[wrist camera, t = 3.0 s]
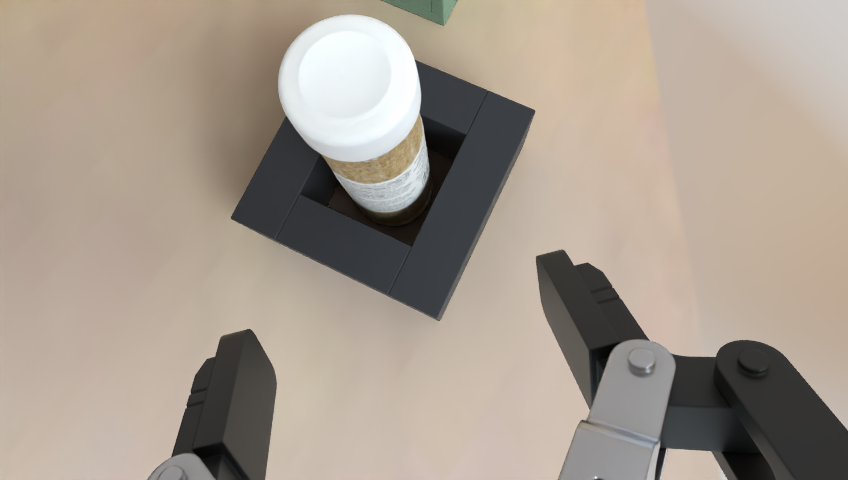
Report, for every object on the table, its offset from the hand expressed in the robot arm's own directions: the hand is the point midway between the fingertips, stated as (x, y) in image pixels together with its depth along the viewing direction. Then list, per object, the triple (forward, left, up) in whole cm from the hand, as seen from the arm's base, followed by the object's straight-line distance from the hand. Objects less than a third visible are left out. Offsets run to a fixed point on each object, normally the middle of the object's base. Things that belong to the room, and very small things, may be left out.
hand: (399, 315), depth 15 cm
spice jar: (-5, +6, -14) cm, 16 cm away
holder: (-5, +6, -14) cm, 16 cm away
